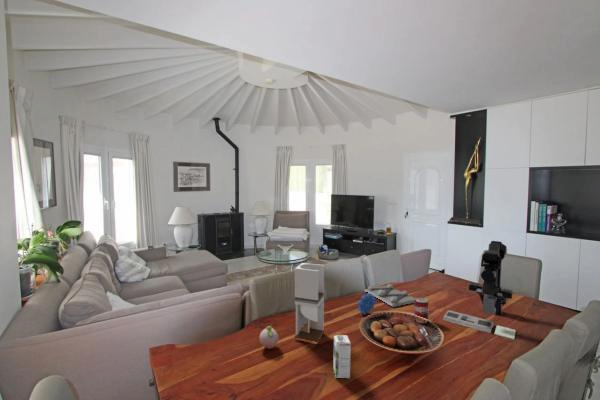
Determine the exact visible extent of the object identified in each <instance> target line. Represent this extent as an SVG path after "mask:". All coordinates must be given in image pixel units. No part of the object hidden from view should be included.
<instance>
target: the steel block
mask: <svg viewBox="0 0 600 400" xmlns="http://www.w3.org/2000/svg"><path fill="white" fill-rule="evenodd" d="M495 304H496V297H494V296H490V295H487V294H484V297H483V304H482V313H484V314H488V315H492V316H495V315H496V314H495V313H496V308H495Z"/></svg>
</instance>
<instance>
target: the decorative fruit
mask: <svg viewBox="0 0 600 400" xmlns="http://www.w3.org/2000/svg"><path fill="white" fill-rule="evenodd" d="M259 342H260V345H261V346H263V347H264V348H265V349H269V350H270V349H273V348H274V347H276V346H277V344H278V343H279V334H278V332H277V331H276V330H275V329H274V328H273V326H271V325H268V326H266V327H265V328H264V329H262V331H260V333H259Z"/></svg>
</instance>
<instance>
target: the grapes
mask: <svg viewBox="0 0 600 400" xmlns="http://www.w3.org/2000/svg"><path fill="white" fill-rule="evenodd" d="M376 303H377V301H376V298H375V296H374V295H371V294H370V293H366V295H365V294H364V295H362V296H361V299H359V301H358V303H357V304H358V307H357V310H358V311H360V314H361V313H364V314H366V313H368V314H370V311H372V310H374V308H375V307H374V305H375V304H376Z"/></svg>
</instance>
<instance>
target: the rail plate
mask: <svg viewBox="0 0 600 400" xmlns="http://www.w3.org/2000/svg"><path fill="white" fill-rule="evenodd" d="M442 318H443V320H442V321H445V322H448V323H452V324H455V325H459V326H463V327H467V328H469V329H470V328H471V329H474V330H477V331H481V332H485V333H487V334H491V333H492V330H493V328H494V321H492V320H490V319H489V320H488V319H486V318H481V317H478V316H472V315H469V314H466V313H461V312H458V311H453V310H449V309H448V310H447V311H446V313H445V314H444V315H443V317H442Z"/></svg>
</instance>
